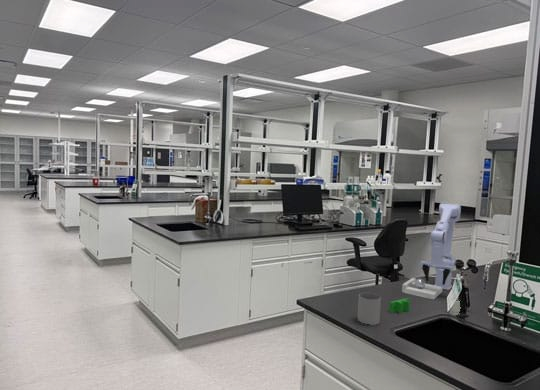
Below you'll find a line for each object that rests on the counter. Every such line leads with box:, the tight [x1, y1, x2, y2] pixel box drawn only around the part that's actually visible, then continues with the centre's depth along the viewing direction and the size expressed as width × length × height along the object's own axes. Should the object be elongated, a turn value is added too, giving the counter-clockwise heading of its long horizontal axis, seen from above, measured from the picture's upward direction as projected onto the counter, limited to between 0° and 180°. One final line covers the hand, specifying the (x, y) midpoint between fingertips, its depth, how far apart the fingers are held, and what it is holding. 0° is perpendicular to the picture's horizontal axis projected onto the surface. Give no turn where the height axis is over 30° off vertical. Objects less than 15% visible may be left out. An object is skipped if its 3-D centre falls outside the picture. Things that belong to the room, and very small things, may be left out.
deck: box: [401, 277, 444, 301], centre depth 189 cm, size 16×15×4 cm
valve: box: [449, 298, 469, 316], centre depth 162 cm, size 7×7×12 cm
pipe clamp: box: [388, 297, 411, 314], centre depth 161 cm, size 11×4×5 cm, turn 122°
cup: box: [357, 292, 382, 326], centre depth 149 cm, size 8×8×10 cm
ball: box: [415, 278, 426, 289], centre depth 188 cm, size 5×5×5 cm
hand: (435, 282), depth 184 cm, fingers open, 7 cm apart
